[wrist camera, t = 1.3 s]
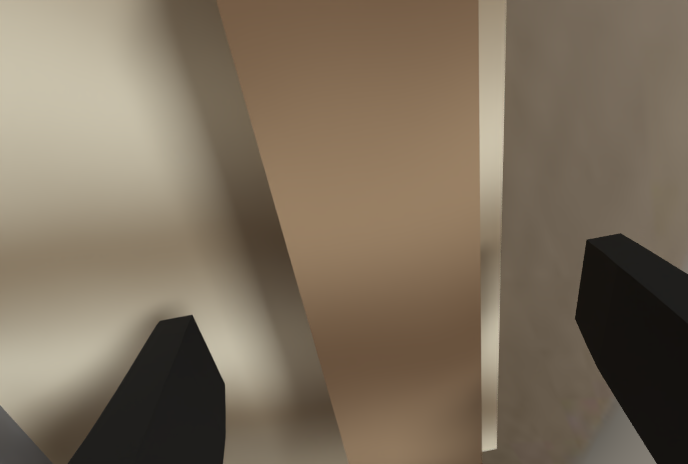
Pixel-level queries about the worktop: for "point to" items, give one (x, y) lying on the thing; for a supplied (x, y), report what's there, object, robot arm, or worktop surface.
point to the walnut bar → (377, 206)
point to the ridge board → (167, 227)
